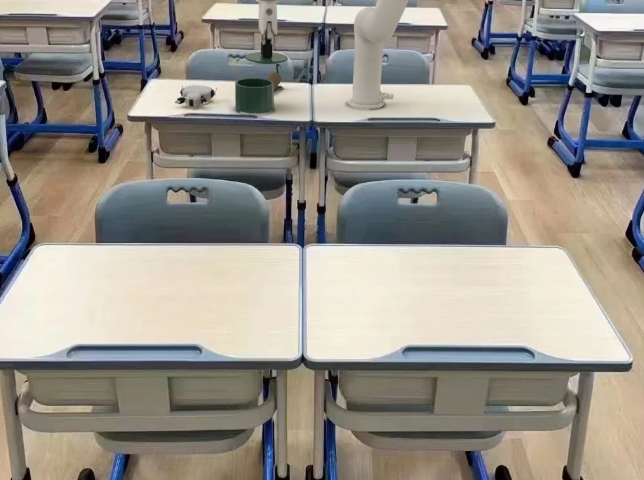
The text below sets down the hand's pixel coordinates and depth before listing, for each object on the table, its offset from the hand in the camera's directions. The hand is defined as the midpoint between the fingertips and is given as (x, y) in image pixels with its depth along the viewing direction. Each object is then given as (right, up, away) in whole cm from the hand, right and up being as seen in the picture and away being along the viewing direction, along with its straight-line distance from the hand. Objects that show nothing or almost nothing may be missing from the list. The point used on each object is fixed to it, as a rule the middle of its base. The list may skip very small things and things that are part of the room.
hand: (266, 55), depth 264 cm
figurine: (+1, -2, +31) cm, 31 cm away
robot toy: (-25, -12, +13) cm, 30 cm away
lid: (0, -1, 0) cm, 1 cm away
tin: (-4, -15, +8) cm, 18 cm away
